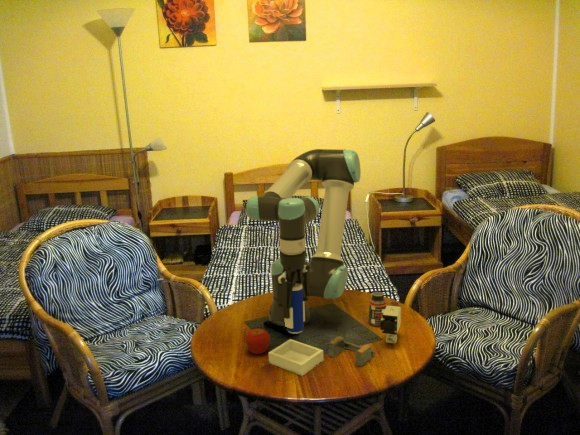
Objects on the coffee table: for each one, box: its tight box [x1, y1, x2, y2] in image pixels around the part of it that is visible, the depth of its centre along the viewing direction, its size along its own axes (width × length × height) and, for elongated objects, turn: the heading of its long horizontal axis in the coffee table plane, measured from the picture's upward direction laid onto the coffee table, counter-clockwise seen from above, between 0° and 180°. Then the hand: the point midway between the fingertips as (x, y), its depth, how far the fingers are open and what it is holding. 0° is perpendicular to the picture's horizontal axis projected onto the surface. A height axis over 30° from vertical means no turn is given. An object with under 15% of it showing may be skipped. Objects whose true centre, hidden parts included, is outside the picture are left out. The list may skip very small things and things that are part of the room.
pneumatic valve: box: [379, 304, 402, 344], centre depth 180 cm, size 6×12×12 cm, turn 161°
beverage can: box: [286, 282, 305, 335], centre depth 166 cm, size 5×5×15 cm
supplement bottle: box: [368, 291, 387, 327], centre depth 193 cm, size 6×6×11 cm
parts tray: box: [267, 338, 324, 377], centre depth 170 cm, size 13×11×4 cm
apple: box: [245, 328, 271, 355], centre depth 176 cm, size 8×8×8 cm
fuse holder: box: [328, 335, 376, 368], centre depth 172 cm, size 12×8×5 cm, turn 51°
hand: (294, 323), depth 167 cm, fingers closed on beverage can, 5 cm apart
